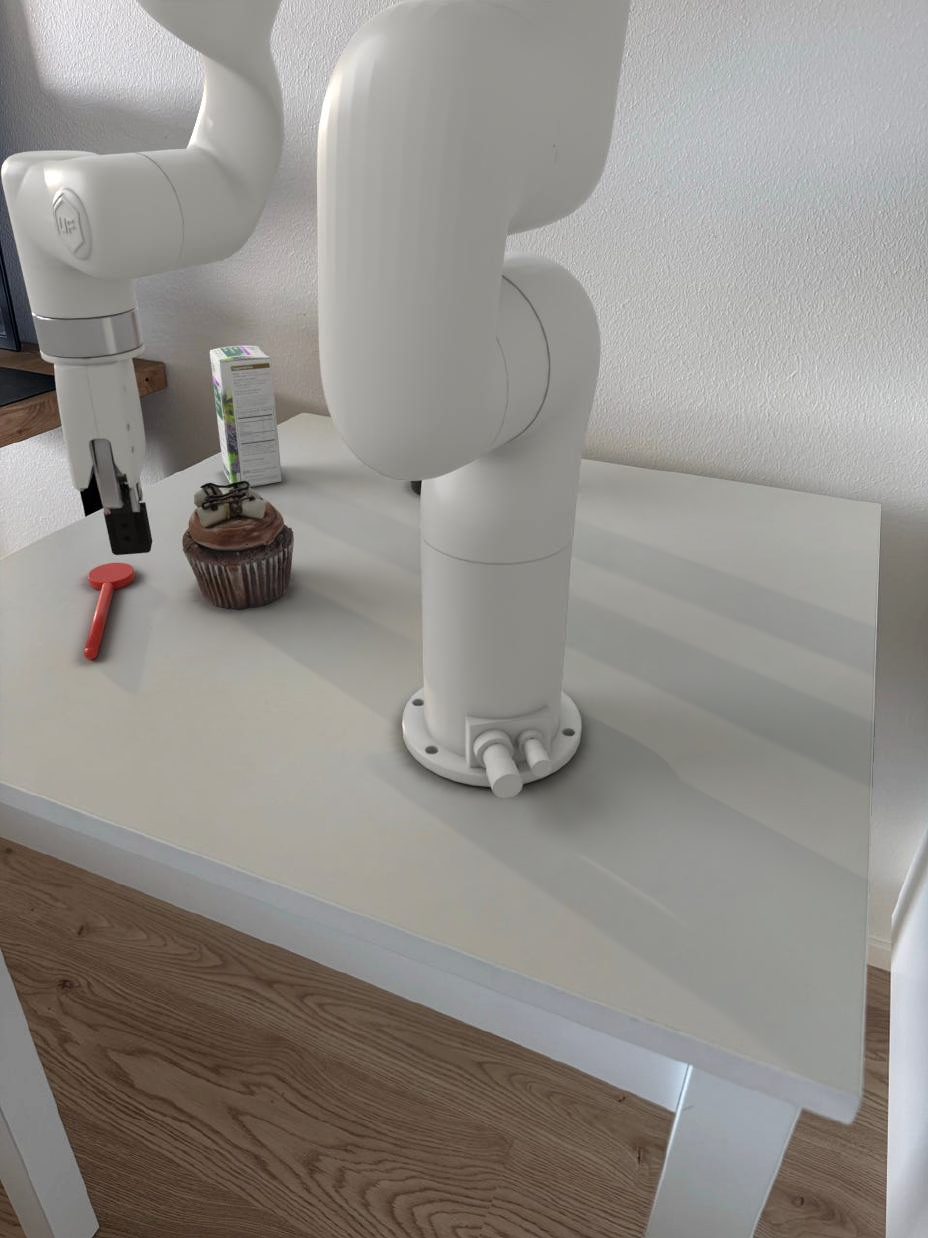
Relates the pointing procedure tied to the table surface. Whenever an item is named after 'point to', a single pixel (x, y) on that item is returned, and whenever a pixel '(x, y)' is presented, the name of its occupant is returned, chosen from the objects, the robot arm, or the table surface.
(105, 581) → the spoon
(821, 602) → the table surface
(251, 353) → the syrup box
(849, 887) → the table surface
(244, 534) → the cupcake
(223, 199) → the robot arm
